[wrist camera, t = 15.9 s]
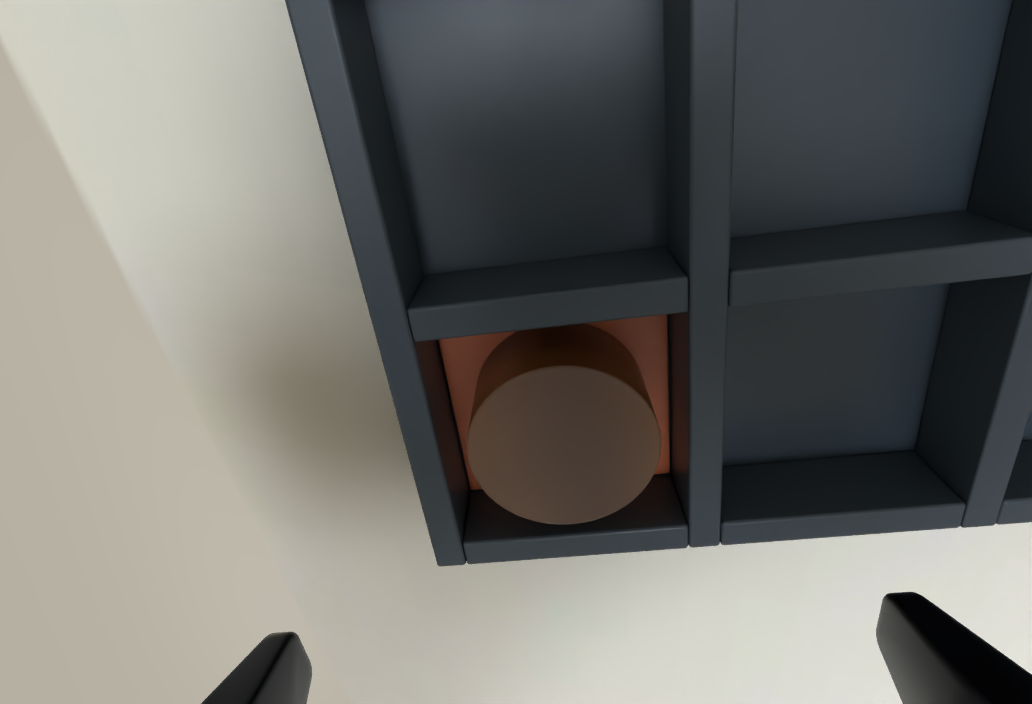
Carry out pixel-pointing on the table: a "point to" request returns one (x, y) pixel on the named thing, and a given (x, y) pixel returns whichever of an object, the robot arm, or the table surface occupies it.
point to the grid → (702, 247)
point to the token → (562, 425)
